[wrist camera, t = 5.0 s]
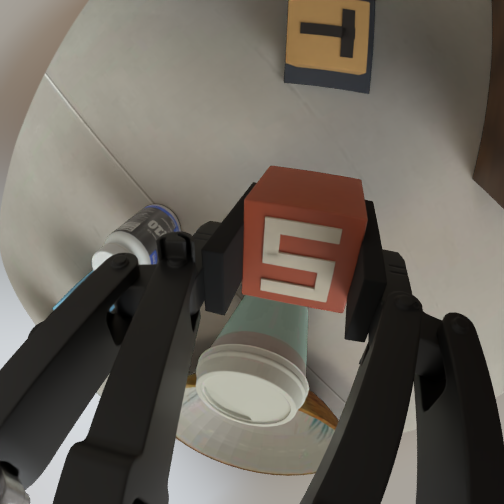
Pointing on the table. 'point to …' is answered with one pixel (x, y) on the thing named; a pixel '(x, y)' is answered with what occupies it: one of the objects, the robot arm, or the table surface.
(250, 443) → the bowl
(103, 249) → the pill bottle
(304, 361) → the coffee cup
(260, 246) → the block
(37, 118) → the table surface
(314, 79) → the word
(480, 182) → the word stand
